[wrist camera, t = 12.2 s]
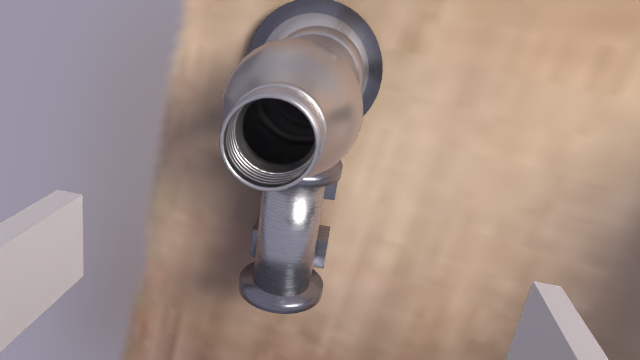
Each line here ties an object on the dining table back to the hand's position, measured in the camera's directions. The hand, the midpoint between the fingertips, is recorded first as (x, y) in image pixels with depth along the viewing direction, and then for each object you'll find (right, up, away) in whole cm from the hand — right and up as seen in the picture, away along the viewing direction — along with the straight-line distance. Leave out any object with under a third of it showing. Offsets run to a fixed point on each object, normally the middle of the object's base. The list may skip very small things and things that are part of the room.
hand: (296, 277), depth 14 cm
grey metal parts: (0, +6, +25) cm, 26 cm away
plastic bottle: (+1, +11, +22) cm, 25 cm away
